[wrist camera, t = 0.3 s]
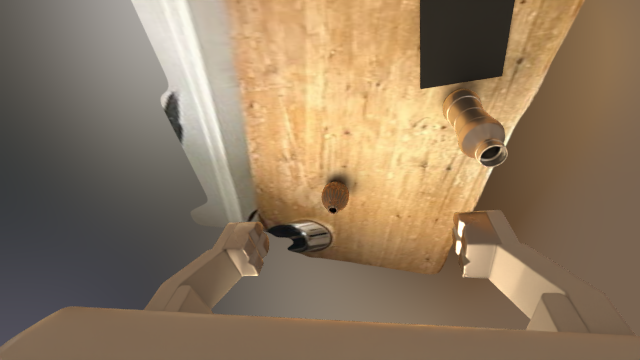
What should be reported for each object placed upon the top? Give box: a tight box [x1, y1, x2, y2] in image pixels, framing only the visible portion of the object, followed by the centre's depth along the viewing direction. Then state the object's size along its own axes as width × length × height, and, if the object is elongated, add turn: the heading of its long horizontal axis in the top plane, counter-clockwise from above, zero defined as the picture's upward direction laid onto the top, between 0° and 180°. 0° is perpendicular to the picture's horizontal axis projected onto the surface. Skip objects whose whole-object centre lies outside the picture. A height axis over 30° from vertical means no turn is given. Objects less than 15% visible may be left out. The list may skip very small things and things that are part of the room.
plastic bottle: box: [443, 89, 508, 167], centre depth 45 cm, size 6×7×20 cm
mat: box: [420, 0, 515, 89], centre depth 45 cm, size 22×14×1 cm, turn 13°
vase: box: [322, 181, 349, 214], centre depth 68 cm, size 7×7×9 cm
